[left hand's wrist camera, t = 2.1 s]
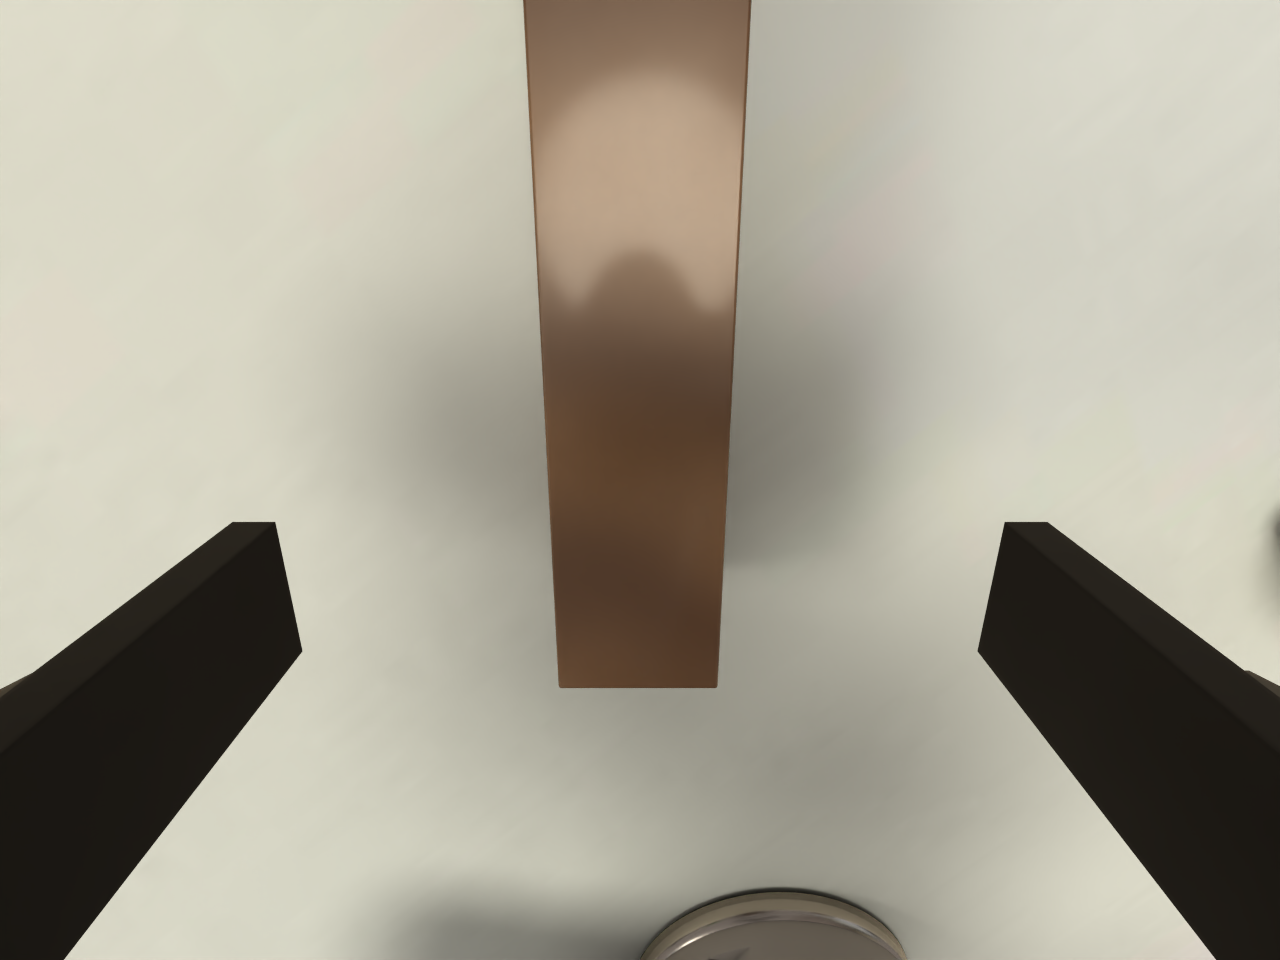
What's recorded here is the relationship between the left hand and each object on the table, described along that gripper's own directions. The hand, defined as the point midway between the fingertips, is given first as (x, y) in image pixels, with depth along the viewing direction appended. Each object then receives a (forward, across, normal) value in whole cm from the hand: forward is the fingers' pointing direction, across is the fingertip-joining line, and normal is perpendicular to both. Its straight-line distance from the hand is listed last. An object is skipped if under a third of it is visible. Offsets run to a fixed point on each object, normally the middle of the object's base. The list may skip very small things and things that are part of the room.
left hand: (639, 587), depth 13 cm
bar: (+14, 0, -28) cm, 31 cm away
